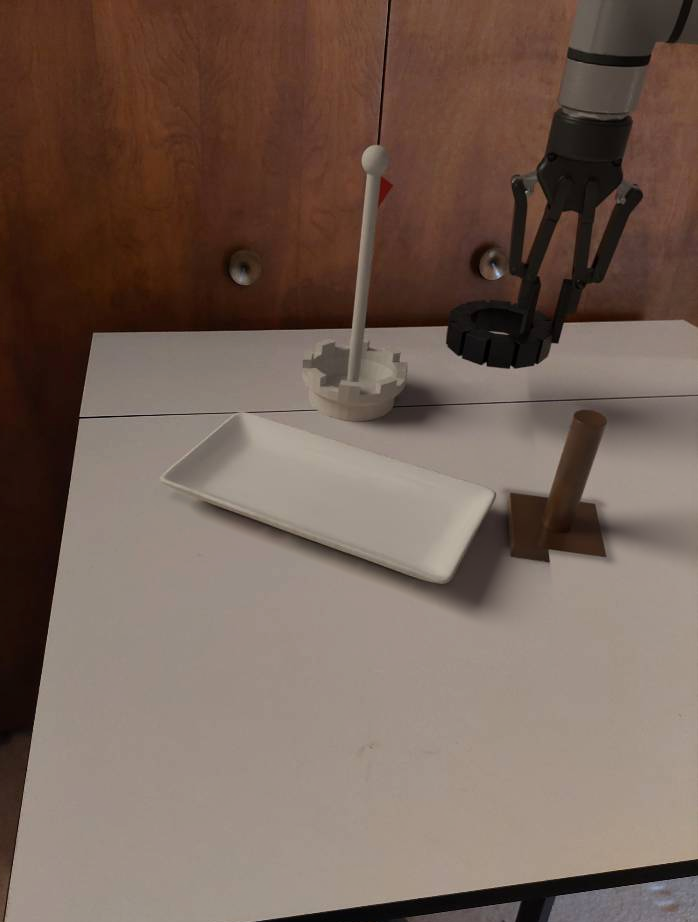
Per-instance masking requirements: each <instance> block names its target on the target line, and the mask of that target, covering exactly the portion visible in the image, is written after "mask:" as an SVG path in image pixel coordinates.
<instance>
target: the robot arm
mask: <svg viewBox="0 0 698 922" xmlns="http://www.w3.org/2000/svg"><path fill="white" fill-rule="evenodd" d="M568 42H569V43H568V48H567V53H566V57H565V63H564V67H563V71H562V75H561V79H560V85H559V88H558V93H557V97H556V102H557V104H558V105H559V106H560V107H559V108H557V109H556V111H554V112H553V115H552V119H551V124H550V129H549V134H548V138H547V143H546V147H545V151H544V155H543V157H542V159H541V160H540V161H539V163H538V164H537V165H536V167H535V170H533V171H531V172H528V173H526V174H523V175H521V174H519V173H517V174H513V175H512V176H511V179H510V187H511V191H512V196H513V199H514V203H513V211H512V212H513V213H512V221H511V233H510V243H509V253H508V262H507V263H508V272H509V275H511V276H512V277H514V276H516V277H518V278H520V280H521V281H520V286H519V290H518V295H517V303H518V307H519V309H525V311H524V315H523V320H522V324H521V328H520V333H526V332H528V331H529V330H530V329H531V326H532V322H533V318H534V313H535V311H536V309H537V305H538V302H539V301H538V300H539V296H540V292H541V287H542V282H541V278H540V276H539V272H540V269H541V266H542V264H543V261H544V258H545V256H546V254H547V251H548V248H549V245H550V243H551V241H552V237H553V235H554V233H555V229H556V226H557V225H558V223H559V221H560V219H561V216H562V214H563V213H566V212H574V213H577V223H576V224H577V225H576V233H575V240H574V241H575V242H574V250H573V259H572V267H571V278H563V279H562V283H561V287H560V291H559V295H558V299H557V302H556V307H555V310H554V315H553V319H552V322H553V325H554V330H555V331H554V335H553V339H552V344H557V345H558V344H559V342H560V338H561V335H562V331H563V328H564V324H565V320H566V316H567V314H569V315H575V313H576V312H577V310H578V308H579V304H580V300H581V297H582V293H583V290H584V289H585V288H586V287H587V286H588V285H589V284H601V283H602V282H603V281H604V279H605V277H606V274H607V271H608V270H609V267H610V265H611V262H612V259H613V257H614V255H615V253H616V250H617V248H618V245H619V242H620V241H621V237H622V235H623V232H624V230H625V227H626V225H627V222H628V220H629V217H630V215H631V214H632V212H633V211H634V210H635V209H636V208H637V206H638V205H639V204H640V202H641V201H642V200H643V198H644V192H643V191H642V189H641V187H640V186H639V185H638V184H637V183H631V182H630V181H628V180H626V178H624V171H623V160H624V157H625V154H626V150H627V145H628V142H629V138H630V136H631V132H632V127H633V124H634V120H633V118H632V116H631V115H630V114H632V113H633V112H635V111H636V110H637V109H638V107H639V102H640V99H641V95H642V91H643V88H644V84H645V80H646V78H647V77H646V76H647V73H648V69H649V65H650V62H651V58H652V55H653V51H654V48H655V46H656V43H665V44H671V45H674V44H685V45H696V46H698V0H577V4H576V9H575V14H574V19H573V24H572V28H571V33H570V37H569V41H568ZM537 184H539V186H540V188H541V190H542V193H543V195H544V197H545V199H546V204H545V207H544V210H543V215H542V217H541V220H540V223H539V226H538V228H537V231H536V234H535V237H534V239H533V242H532V245H531V247H530V251H529V253H528V256H527V258H526V261H525V262H524V261H523V254H524V253H523V252H524V245H525V235H526V234H525V233H526V224H527V217H528V205H529V204H528V198H530V197H531V196H533V194H534V190H535V189H534V188H535V186H536V185H537ZM615 190H616V193H615V195H614V200H615V202H616V203H615V205H614V206H613V208H612V211H611V213H610V216H609V219H608V221H607V224H606V226H605V229H604V232H603V234H602V237H601V239H600V242H599V244H598V247H597V250H596V252H595V255H594V257H593V260H592V263H591V265H590V267H588V265H589V258H590V251H591V243H592V242H591V241H592V233H593V227H594V223H595V217H596V208H598V207H599V206H600V205H601V204H602V203H603V202H604V201H605V200H606V199H607V198H608V197H609V196H610V195H611V194H612V193H613V192H614V191H615Z"/></svg>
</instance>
